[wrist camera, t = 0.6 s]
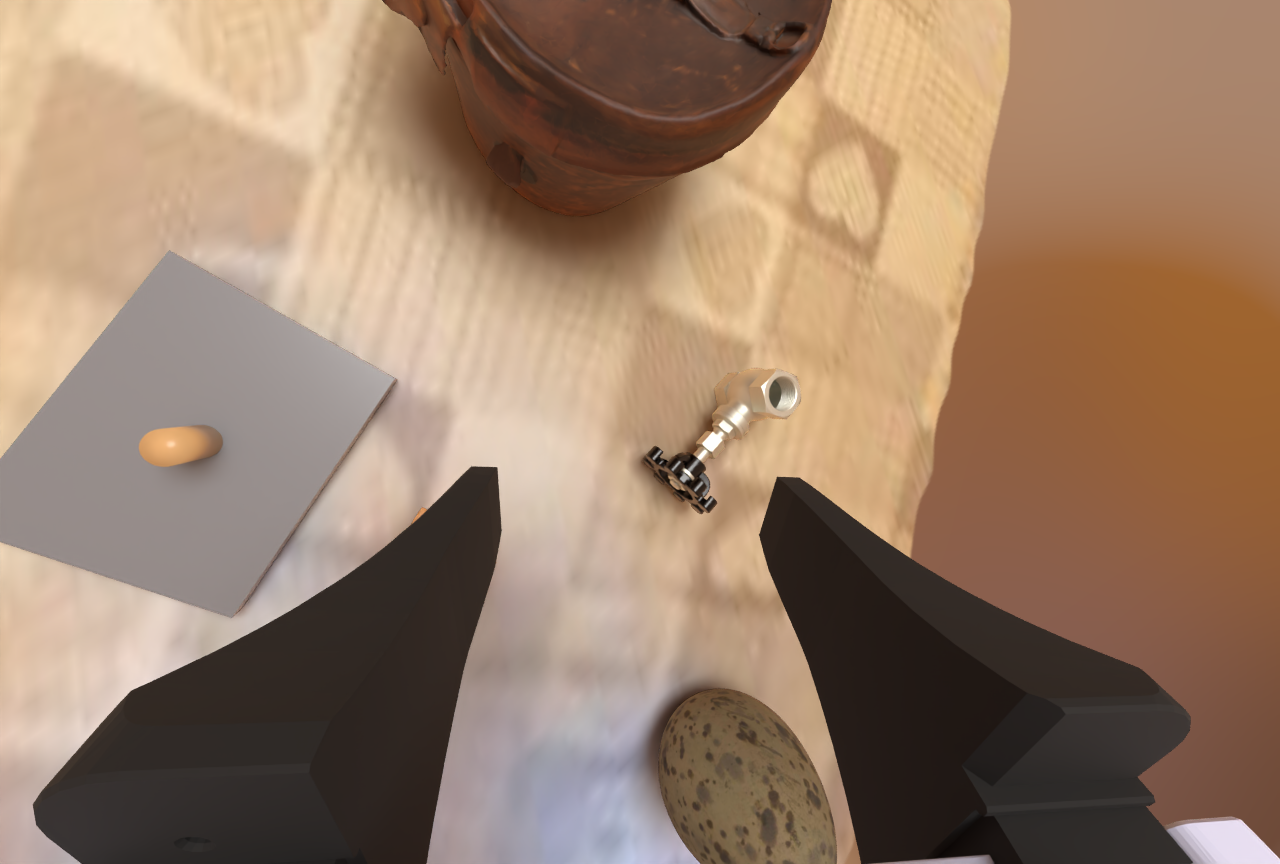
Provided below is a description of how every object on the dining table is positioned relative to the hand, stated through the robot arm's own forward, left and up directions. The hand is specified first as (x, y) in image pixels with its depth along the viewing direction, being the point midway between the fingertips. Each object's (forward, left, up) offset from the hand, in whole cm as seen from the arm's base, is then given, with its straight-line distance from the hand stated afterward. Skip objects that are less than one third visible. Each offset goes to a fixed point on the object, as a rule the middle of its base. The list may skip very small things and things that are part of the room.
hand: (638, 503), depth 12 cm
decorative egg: (-14, -26, -23) cm, 37 cm away
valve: (+9, -13, -23) cm, 27 cm away
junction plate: (-9, +14, -23) cm, 28 cm away
